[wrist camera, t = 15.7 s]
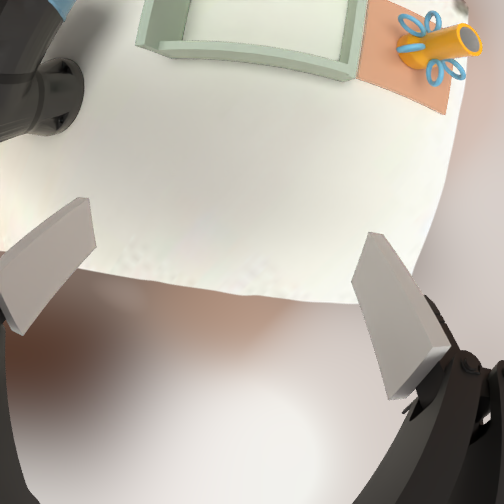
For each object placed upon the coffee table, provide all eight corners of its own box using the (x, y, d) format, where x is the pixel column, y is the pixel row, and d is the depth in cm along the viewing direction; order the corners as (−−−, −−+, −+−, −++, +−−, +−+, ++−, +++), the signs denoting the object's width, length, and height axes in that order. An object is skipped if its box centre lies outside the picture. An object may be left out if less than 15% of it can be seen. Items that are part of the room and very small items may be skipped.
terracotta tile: (356, 78, 31) (358, 78, 30) (368, -5, 23) (370, -7, 22) (442, 114, 31) (445, 115, 31) (452, 36, 23) (455, 35, 22)
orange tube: (452, 61, 25) (512, 59, 12) (424, 100, 30) (485, 107, 17) (397, 8, 23) (446, -21, 10) (365, 45, 27) (410, 20, 15)
